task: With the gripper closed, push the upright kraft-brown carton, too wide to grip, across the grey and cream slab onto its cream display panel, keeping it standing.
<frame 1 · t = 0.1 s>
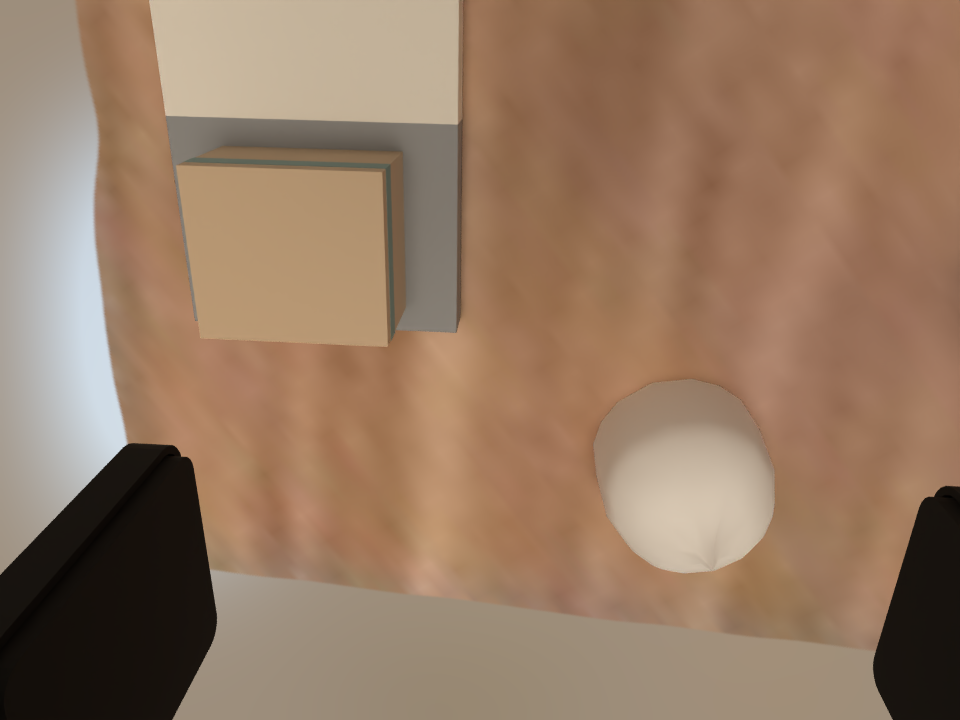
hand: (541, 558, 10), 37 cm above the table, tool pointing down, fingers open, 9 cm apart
grey and cream slab: (321, 96, 43), on the table
teardrop: (675, 451, 51), on the table
carton: (317, 229, 44), point 2 cm above the table, touching grey and cream slab
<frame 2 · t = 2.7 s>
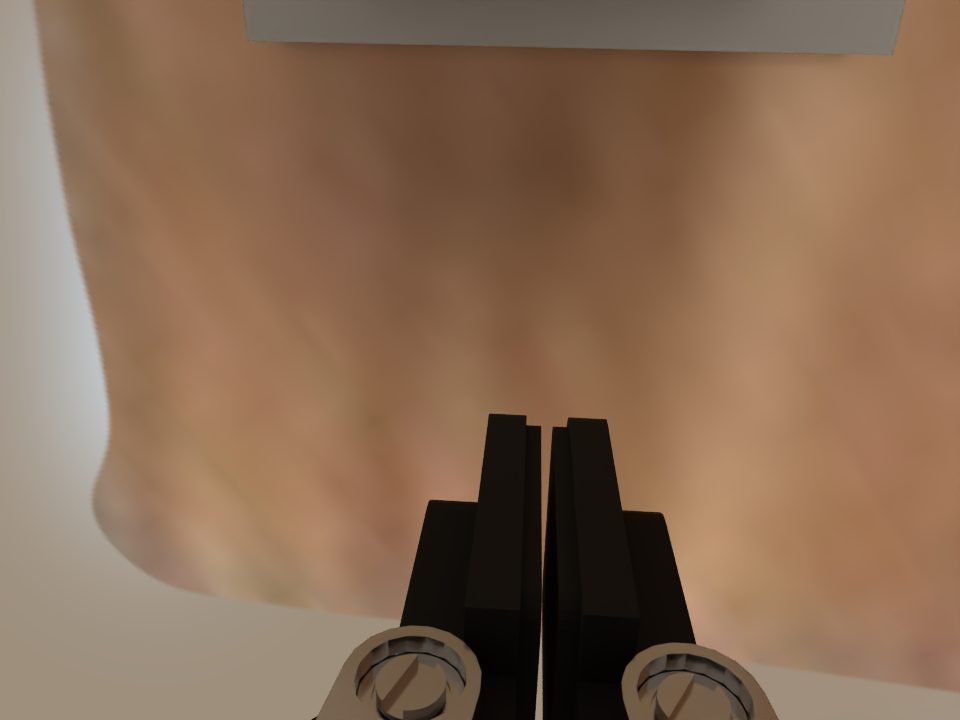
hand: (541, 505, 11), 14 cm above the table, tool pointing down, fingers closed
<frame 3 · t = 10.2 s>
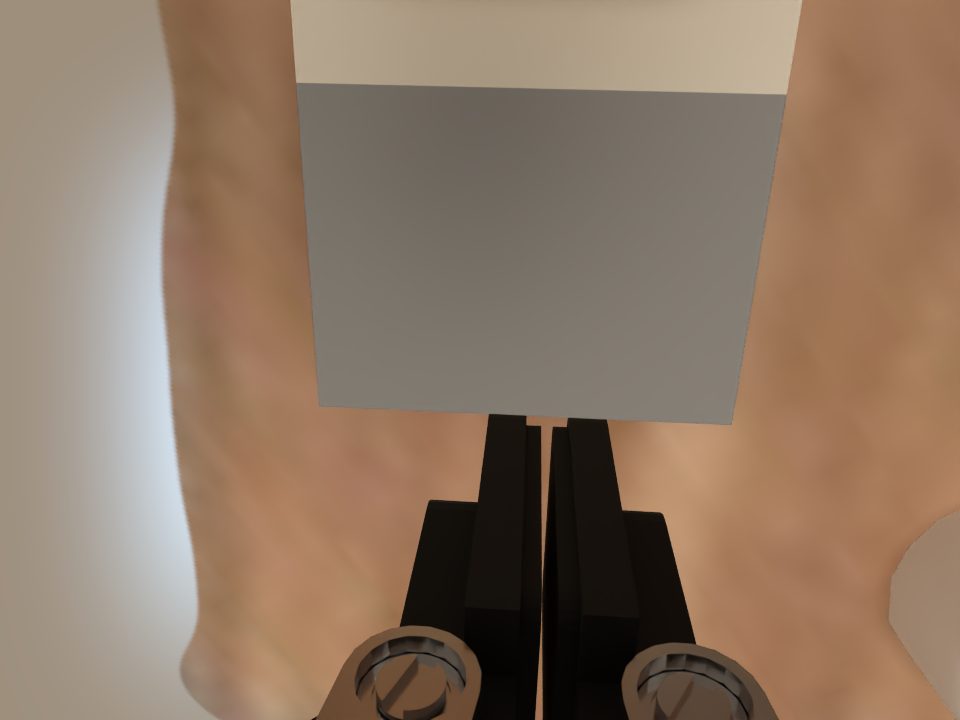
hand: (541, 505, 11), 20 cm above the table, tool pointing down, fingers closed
grey and cream slab: (538, 53, 27), on the table
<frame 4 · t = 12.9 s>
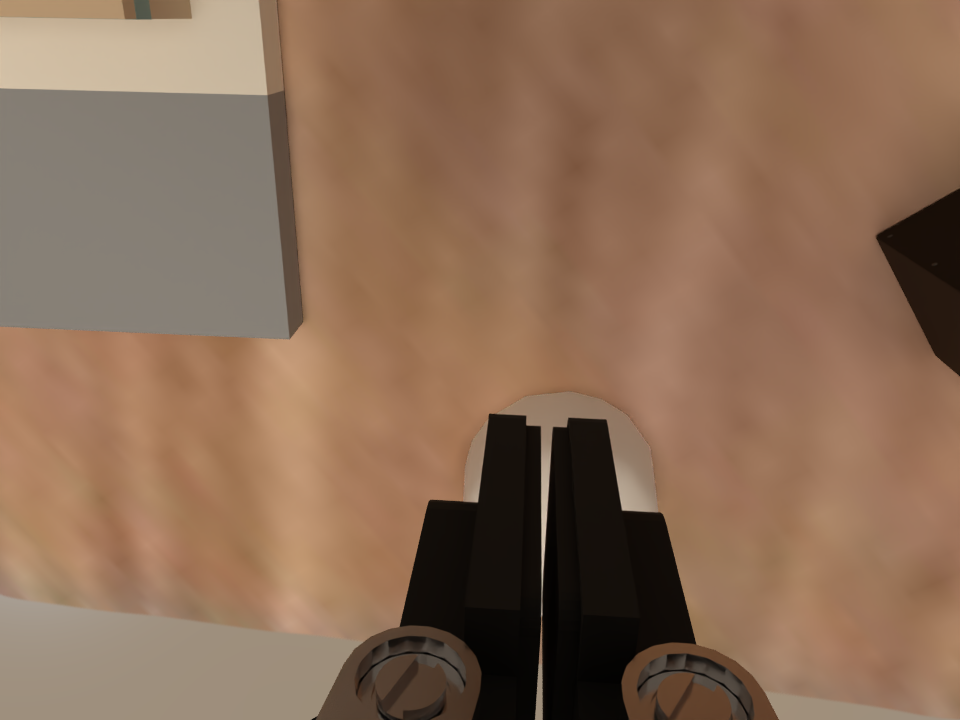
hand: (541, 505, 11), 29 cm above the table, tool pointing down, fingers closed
grey and cream slab: (119, 64, 37), on the table
teardrop: (558, 472, 45), on the table
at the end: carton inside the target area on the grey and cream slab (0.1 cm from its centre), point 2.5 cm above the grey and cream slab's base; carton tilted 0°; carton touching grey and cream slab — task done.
